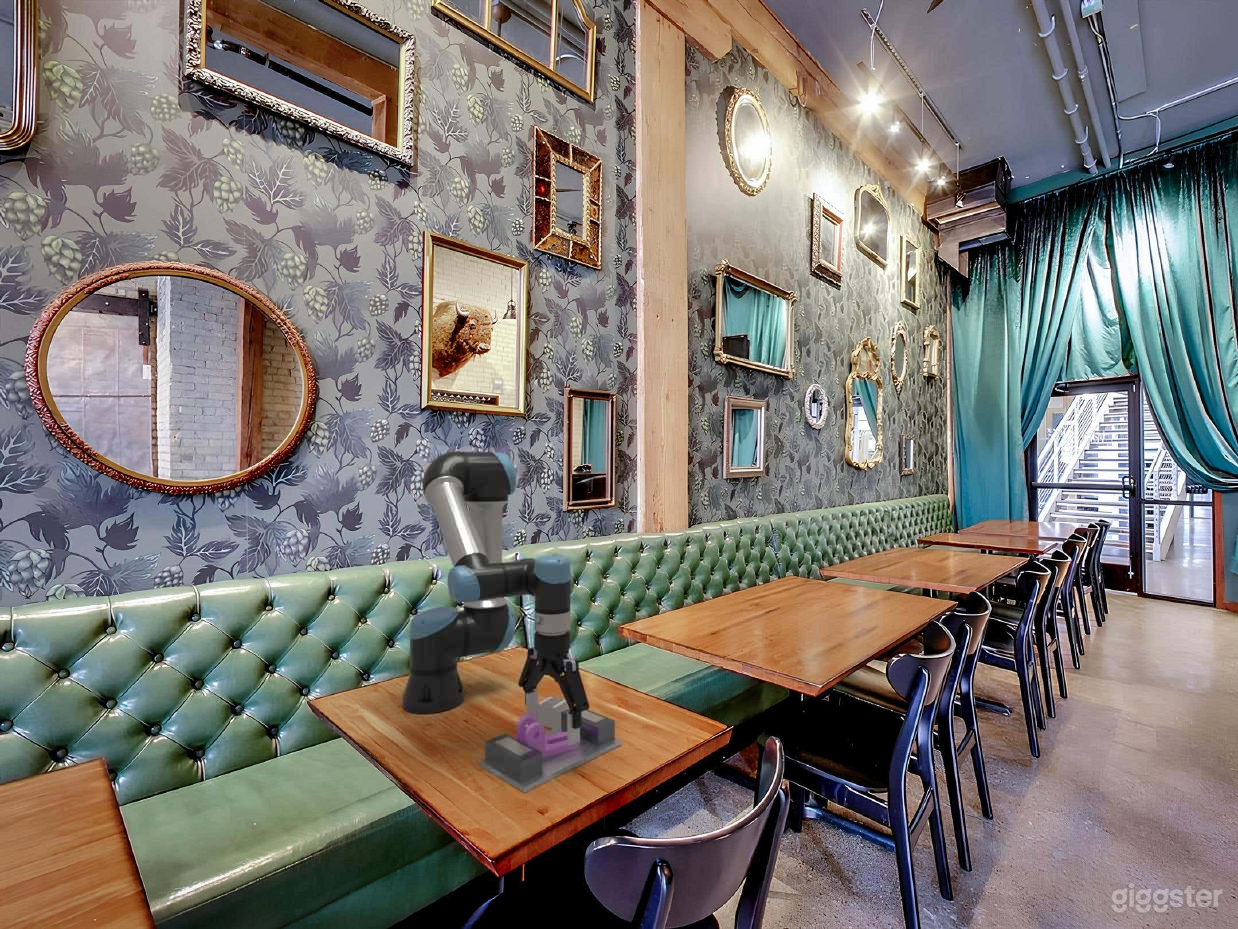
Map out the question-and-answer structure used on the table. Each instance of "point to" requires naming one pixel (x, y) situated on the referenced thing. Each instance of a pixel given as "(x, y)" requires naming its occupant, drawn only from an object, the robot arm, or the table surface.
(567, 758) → the rail board
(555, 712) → the block
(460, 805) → the table surface
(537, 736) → the bracket
